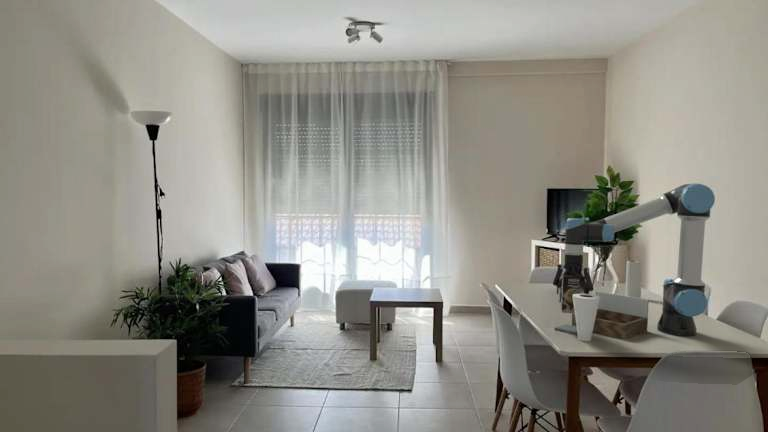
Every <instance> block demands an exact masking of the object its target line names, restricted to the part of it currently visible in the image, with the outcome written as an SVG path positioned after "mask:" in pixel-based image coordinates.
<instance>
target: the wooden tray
mask: <svg viewBox="0 0 768 432" xmlns="http://www.w3.org/2000/svg"><path fill="white" fill-rule="evenodd" d="M648 320H649V317H648V318H644V317H639V316H634V315H629V314H624V313H618V312H613V311H608V310H603V309H598V310H597V314H596V318H595V323H594V326H593V327H594V328H593V332H592V333H596V334H600V335H604V336H605V335H606V336H609V337H613V338H618V339H623V340H626V339H629V338H632V337H634V336H637V335H640V334H644V333H646V332H648V325H649V322H648ZM571 325H573V326H577V324H576V318H575V313H571Z"/></svg>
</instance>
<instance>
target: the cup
mask: <svg viewBox="0 0 768 432" xmlns="http://www.w3.org/2000/svg"><path fill="white" fill-rule="evenodd" d="M572 296H573V304H574V309H575V310H574V311H575V318H576V324H577V333H578V334H577V339H578V340H579V341H582V342H591V341H592V336H593V333H594V332H593V328H594V327H593V326H594V323H595V318H596V314H597V310H598V305H599V300H600V297H599V296H597V295H596V294H592V293H591V294H590V293H589V294H573V295H572Z"/></svg>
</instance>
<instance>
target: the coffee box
mask: <svg viewBox="0 0 768 432" xmlns="http://www.w3.org/2000/svg"><path fill="white" fill-rule="evenodd" d="M561 278H562V289H561V302H560V313H564V314H574V313H575V311H574V310H575V309H574V304H573V296H572V295H573V294H582V292H583V291H584V290H583V288H582V286H581V284H580V282H579V277H576V276H573V275H564V273H562V275H561ZM581 279H582V280H583V281H584V282H586V280H585V276H584V275H583V277H581Z"/></svg>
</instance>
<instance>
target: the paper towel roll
mask: <svg viewBox="0 0 768 432" xmlns="http://www.w3.org/2000/svg"><path fill="white" fill-rule="evenodd" d="M625 269H626V271H625V295H624V296H629V297H635V298H642V297H641V296H642V275H643V273H642V271H643V261H637V260H626V268H625Z"/></svg>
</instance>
